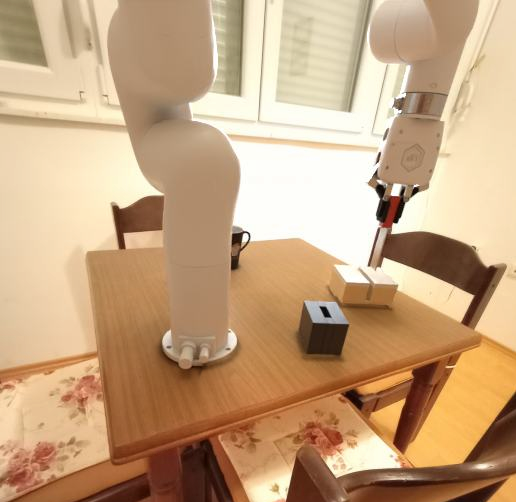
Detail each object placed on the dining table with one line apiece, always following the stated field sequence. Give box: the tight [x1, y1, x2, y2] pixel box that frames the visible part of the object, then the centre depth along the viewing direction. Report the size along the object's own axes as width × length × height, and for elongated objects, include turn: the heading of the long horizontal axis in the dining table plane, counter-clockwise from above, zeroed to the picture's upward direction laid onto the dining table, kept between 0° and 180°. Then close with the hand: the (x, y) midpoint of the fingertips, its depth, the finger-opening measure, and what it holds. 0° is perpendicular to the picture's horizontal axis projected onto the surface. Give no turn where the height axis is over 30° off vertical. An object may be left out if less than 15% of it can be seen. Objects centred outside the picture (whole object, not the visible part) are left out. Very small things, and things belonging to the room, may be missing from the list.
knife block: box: [298, 300, 350, 356], centre depth 55 cm, size 8×6×7 cm
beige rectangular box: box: [328, 264, 399, 309], centre depth 75 cm, size 11×12×6 cm
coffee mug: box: [231, 224, 252, 271], centre depth 85 cm, size 12×9×10 cm
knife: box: [369, 193, 401, 271], centre depth 65 cm, size 3×2×15 cm, turn 4°
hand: (386, 220), depth 64 cm, fingers closed on knife, 2 cm apart
